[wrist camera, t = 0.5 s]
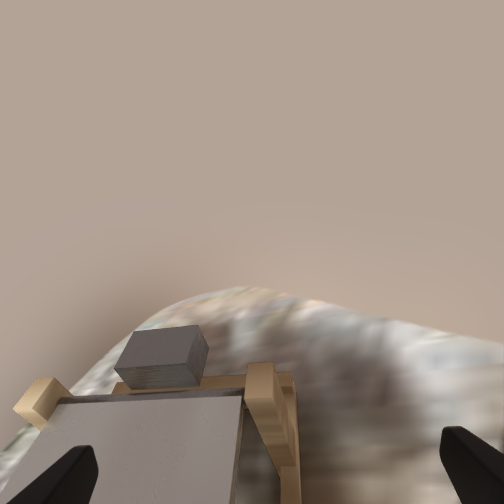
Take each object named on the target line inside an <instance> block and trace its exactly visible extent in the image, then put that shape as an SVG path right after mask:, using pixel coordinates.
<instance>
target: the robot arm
mask: <svg viewBox="0 0 504 504" xmlns="http://www.w3.org/2000/svg"><path fill="white" fill-rule="evenodd" d="M439 453H440V458H441V461H442V464H443V466H444V468H445V470H446V472H447V474H448V476H449V478H450V480H451V482H452V484H453V486H454V488H455V491H456V493H457V495H458V497H459V499H460V501H461V503H462V504H504V454H503V453H501V452H500V451H498V450H497V449H495V448H494V447H492V446H491V445H489V444H488V443H486V442H485V441H483V440H482V439H480V438H479V437H477V436H476V435H474V434H473V433H471V432H470V431H468V430H467V429H465V428H463V427H461V426H447V427H444V428H443V430H442V436H441V442H440V449H439ZM98 474H99V468H98V464H97V460H96V456H95V453H94V449H93V447H92V446H91V445H77V446H74V447H73V448H71V449H70V450H69V451H68V452H66V453H65V454H64V455H63V456H62V457H61V458H59V459H58V460H57V461H56V462H55V463H53V464H52V465H51V466H50V467H49V468H48V469H46V470H45V471H44V472H43V473H42V474H40V475H39V476H38V477H37V478H36V479H35V480H33V481H32V482H31V483H30V484H29V485H27V486H26V487H25V488H24V489H23V490H22V491H20V492H19V493H18V494H17V495H16V496H14V497H13V498H12V499H11V500H10V501H9V502H7V503H6V504H89V502H90V500H91V497H92V494H93V491H94V488H95V485H96V482H97V479H98Z"/></svg>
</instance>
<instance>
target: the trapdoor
mask: <svg viewBox="0 0 504 504" xmlns="http://www.w3.org/2000/svg"><path fill="white" fill-rule="evenodd" d="M208 350H209V347H208V345H207V343H206V341H205V339H204V336H203V334H202V332H201V330H200V328H199V326H198V325H192V326H182V327H173V328H163V329H153V330H143V331H134V332H133V334H132V336H131V338H130V339H129V341H128V343H127V345H126V347H125V349H124V350H123V352H122V354H121V356H120V358H119V360H118V361H117V363H116V365H115V367H114V369H115V371H116V372H117V373H118V374H119V376H120V377H121V378H122V379H123V381H124V382H125V383H126V384H127V385H128V387H129V388H130V389H131V390H147V389H165V388H183V387H199V386H200V382H201V378H202V374H203V370H204V366H205V362H206V358H207V354H208ZM244 394H245V387H238V388H219V389H201V390H182V391H163V392H144V393H126V394H107V395H88V396H70V397H61V398H60V399H59V400H58V401H57V403H56V407H55V408H56V409H55V411H54V412H53V414H52V415H51V417H50V418H49V420H48V421H47V423H46V424H45V426H44V428H43V429H42V431H41V432H40V434H39V435H38V437H37V438H36V440H35V441H34V443H33V444H32V446H31V448H30V449H29V451H28V452H27V454H26V455H25V457H24V458H23V460H22V461H21V463H20V464H19V466H18V468H17V469H16V471H15V472H14V474H13V475H12V477H11V478H10V480H9V481H8V483H7V484H6V486H5V487H4V489H3V491H2V492H1V494H0V504H6V503H7V502H9V501H10V500H11V499H12V498H13V497H14V496H16V495H17V494H18V493H19V492H20V491H22V490H23V489H24V488H25V487H26V486H27V485H29V484H30V483H31V482H32V481H33V480H35V479H36V478H37V477H38V476H39V475H40V474H42V473H43V472H44V471H45V470H46V469H48V468H49V467H50V466H51V465H52V464H53V463H55V462H56V461H57V460H58V459H59V458H61V457H62V456H63V455H64V454H65V453H66V452H68V451H69V450H70V449H71V448H73V447H74V446H77V445H91V446H92V447H93V449H94V453H95V456H96V460H97V464H98V468H99V474H98V479H97V482H96V485H95V488H94V491H93V494H92V497H91V500H90V502H89V504H235V497H236V488H237V478H238V468H239V459H240V449H241V440H242V430H243V421H244V411H245V405H247V404H246V402H245V400H244Z"/></svg>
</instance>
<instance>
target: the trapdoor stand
mask: <svg viewBox="0 0 504 504" xmlns="http://www.w3.org/2000/svg"><path fill="white" fill-rule="evenodd" d="M238 387H245V394H244V400H245V402H246V404H247V405H245V409H249V411H250V413H251V415H252V417H253V420H254V422H255V424H256V426H257V429H258V431H259V433H260V435H261V437H262V440H263V442H264V444H265V446H266V448H267V451H268V453H269V455H270V457H271V460H272V462H273V464H274V466H275V468H276V471H277V473H278V475H279V477H280V478H281V504H302V500H301V478H300V456H299V435H298V413H297V392H296V389H295V385H294V381H293V377H292V374H291V372H277V373H276V371H275V367H274V364H273V362H260V363H248V367H247V374H245V375H229V376H213V377H202V378H201V382H200V386H199V387H183V388H165V389H147V390H131V389H130V388H129V387H128V385H127V384H126V383H125V382H117V384H116V386H115V387H114V389H113V391H112V393H111V394H126V393H144V392H163V391H182V390H201V389H219V388H238ZM70 396H73V395H72V394H71V393H70V392H69V391H68V390H67V389H66V388H65V387H64V386H63V385H62V384H61V383H60V382H59V381H58V380H57V379H56V378H55V377H48V378H36V380H35V381H34V382H33V384H32V385H31V386H30V387H29V389H28V390H27V391H26V393H25V394H24V395H23V396H22V398H21V399H20V401H19V402H18V403H17V404H16V405H15V407H14V408H13V410H14V411H16V412H17V413H18V414H20V415H21V416H22V417H24V418H25V419H26V420H27V421H29V422H30V423H31V424H32V425H34V426H35V427H36V428H38V429H39V430H40V431H42V429H43V428H44V426H45V424H46V423H47V421H48V420H49V418H50V417H51V415H52V414H53V412H54V411H55V409H56V408H55V407H56V403H57V401H58V400H59V399H60V398H61V397H70Z"/></svg>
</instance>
